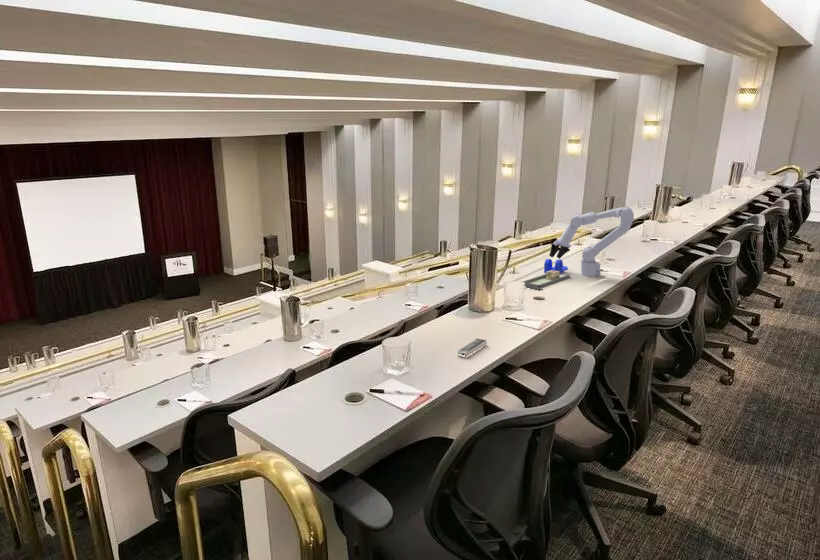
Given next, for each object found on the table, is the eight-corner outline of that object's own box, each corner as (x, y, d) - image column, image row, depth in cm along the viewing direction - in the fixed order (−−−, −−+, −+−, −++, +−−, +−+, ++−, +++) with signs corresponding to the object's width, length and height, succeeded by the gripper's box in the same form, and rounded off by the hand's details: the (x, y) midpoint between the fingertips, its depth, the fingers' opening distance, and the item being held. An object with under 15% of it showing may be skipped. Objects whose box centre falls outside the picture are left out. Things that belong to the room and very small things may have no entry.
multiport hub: (487, 345, 201) (486, 340, 200) (467, 359, 189) (467, 353, 189) (477, 343, 203) (476, 338, 203) (457, 356, 192) (457, 351, 192)
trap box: (569, 280, 283) (569, 274, 283) (539, 290, 267) (539, 285, 266) (551, 277, 292) (551, 272, 291) (521, 287, 276) (521, 282, 275)
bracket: (558, 276, 293) (558, 261, 290) (544, 275, 297) (544, 260, 295) (569, 269, 307) (569, 254, 304) (555, 268, 311) (555, 253, 309)
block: (559, 278, 283) (559, 271, 282) (554, 280, 280) (554, 273, 279) (551, 277, 286) (551, 269, 286) (546, 278, 283) (546, 271, 282)
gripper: (568, 233, 293) (556, 254, 298) (555, 230, 283) (542, 252, 288) (578, 240, 288) (565, 261, 293) (564, 237, 278) (551, 259, 283)
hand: (554, 257), depth 290 cm, fingers open, 7 cm apart
